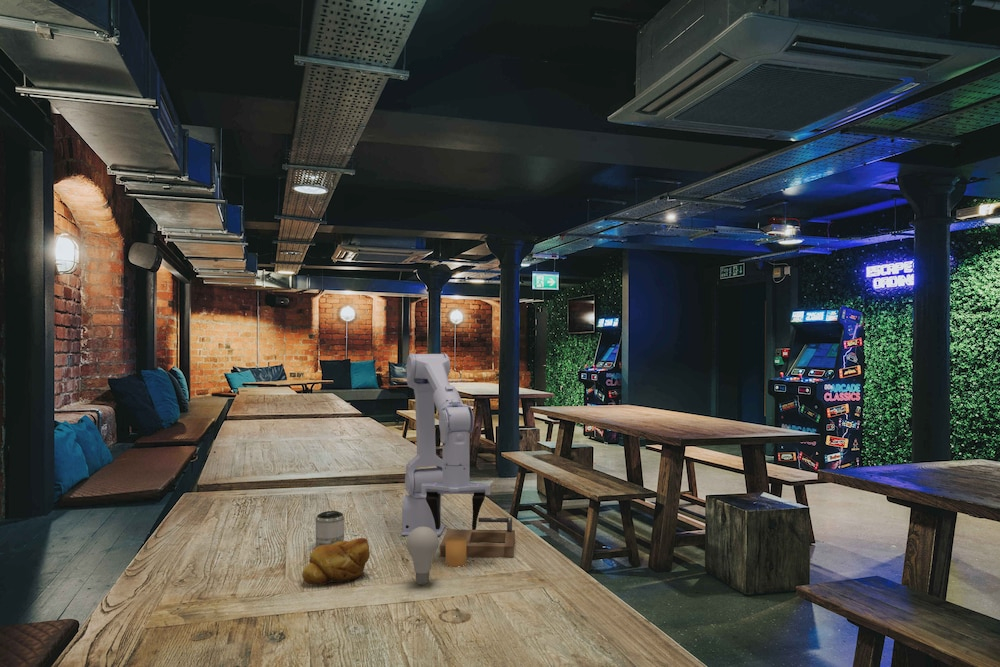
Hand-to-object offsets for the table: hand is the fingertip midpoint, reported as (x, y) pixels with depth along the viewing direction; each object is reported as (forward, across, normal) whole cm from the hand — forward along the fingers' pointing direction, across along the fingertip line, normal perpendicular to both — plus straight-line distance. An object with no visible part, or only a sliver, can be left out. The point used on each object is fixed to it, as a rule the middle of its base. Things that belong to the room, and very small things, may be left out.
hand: (456, 528), depth 130 cm
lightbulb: (+8, -5, -12) cm, 15 cm away
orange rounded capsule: (+7, 0, 0) cm, 7 cm away
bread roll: (+8, -23, -9) cm, 26 cm away
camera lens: (+8, -30, +9) cm, 32 cm away
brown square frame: (+7, +4, +10) cm, 13 cm away
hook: (+7, +7, +15) cm, 18 cm away
